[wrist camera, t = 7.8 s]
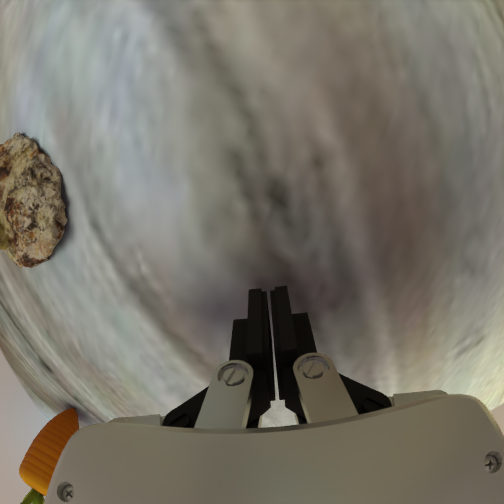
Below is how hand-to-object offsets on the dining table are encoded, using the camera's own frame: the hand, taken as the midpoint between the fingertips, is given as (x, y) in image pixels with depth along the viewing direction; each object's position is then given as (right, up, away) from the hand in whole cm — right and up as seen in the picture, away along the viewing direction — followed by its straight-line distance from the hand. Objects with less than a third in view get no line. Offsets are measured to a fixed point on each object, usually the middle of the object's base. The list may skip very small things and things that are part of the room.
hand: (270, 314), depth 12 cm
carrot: (-19, -13, +8) cm, 25 cm away
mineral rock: (-15, +6, 0) cm, 17 cm away
